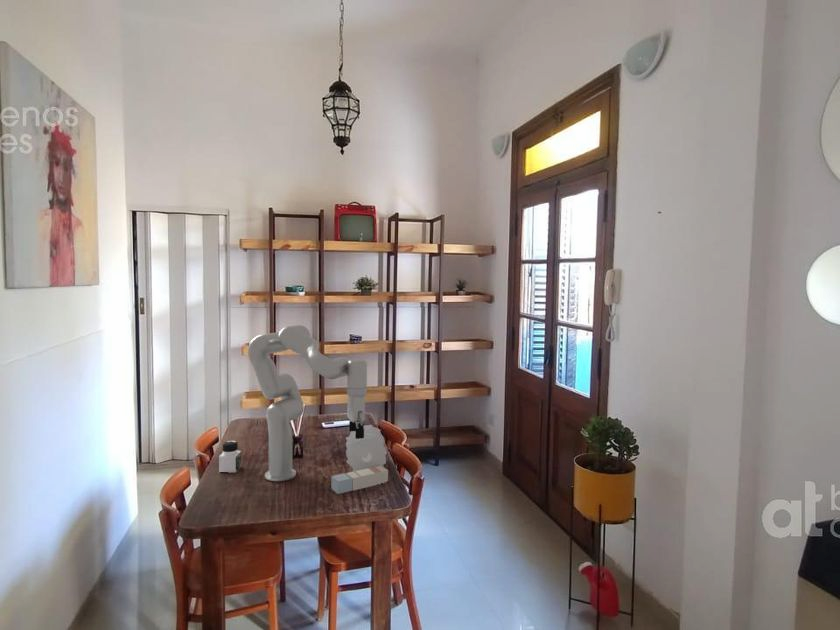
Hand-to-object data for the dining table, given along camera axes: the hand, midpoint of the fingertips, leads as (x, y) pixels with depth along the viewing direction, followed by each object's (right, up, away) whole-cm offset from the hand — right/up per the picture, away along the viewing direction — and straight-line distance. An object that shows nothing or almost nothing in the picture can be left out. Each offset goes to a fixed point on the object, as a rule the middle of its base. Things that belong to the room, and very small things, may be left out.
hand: (356, 434), depth 192 cm
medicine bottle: (-57, -20, +20) cm, 64 cm away
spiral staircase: (+1, -21, +25) cm, 33 cm away
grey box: (-6, -22, +1) cm, 23 cm away
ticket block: (+3, -22, +8) cm, 23 cm away
